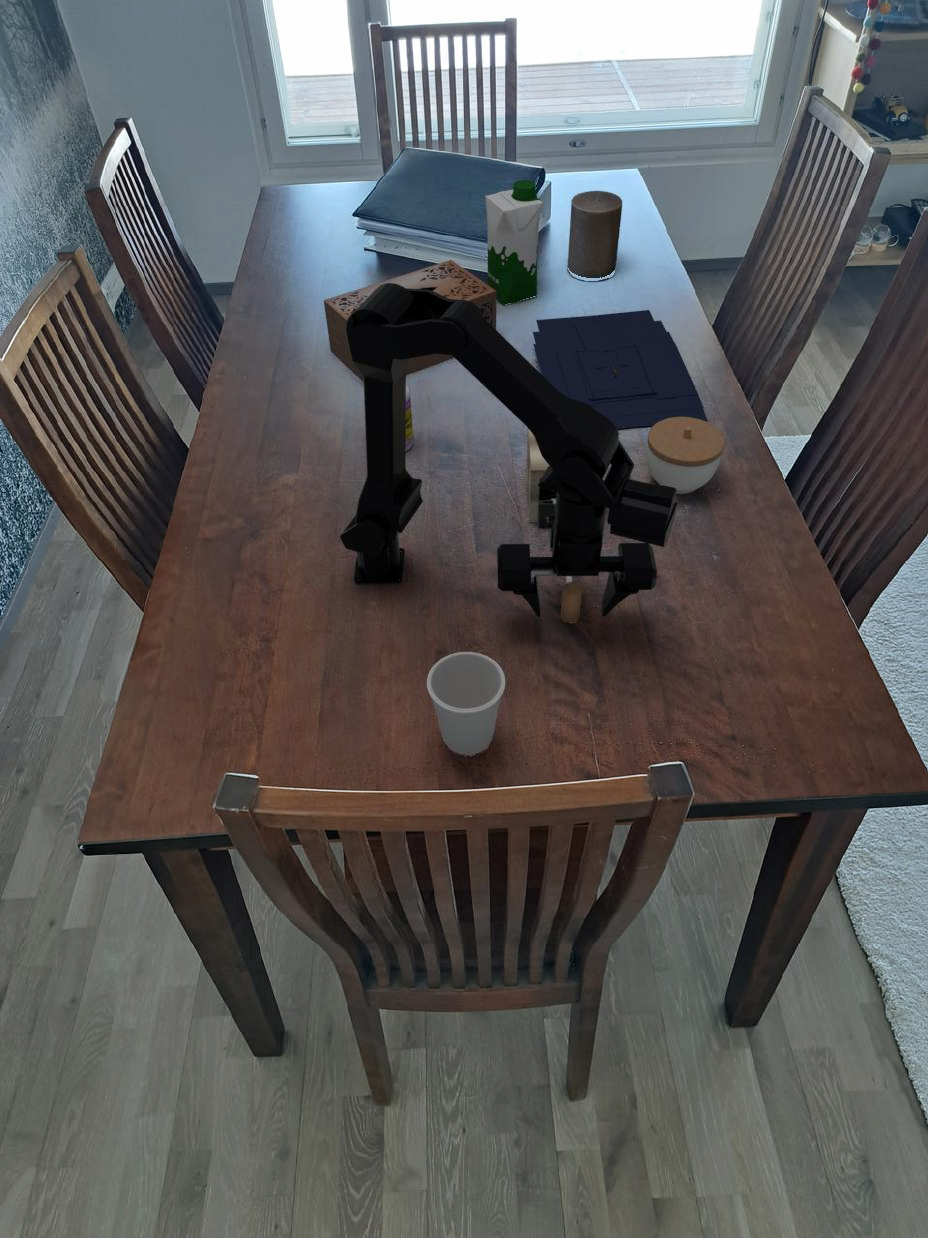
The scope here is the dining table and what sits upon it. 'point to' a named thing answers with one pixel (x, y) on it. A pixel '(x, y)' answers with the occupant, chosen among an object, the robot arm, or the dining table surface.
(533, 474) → the cubby lane
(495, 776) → the dining table surface
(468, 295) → the tissue box cover
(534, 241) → the milk carton
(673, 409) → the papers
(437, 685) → the dixie cup
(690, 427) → the lidded jar
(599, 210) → the pillar candle
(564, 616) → the tethered block
